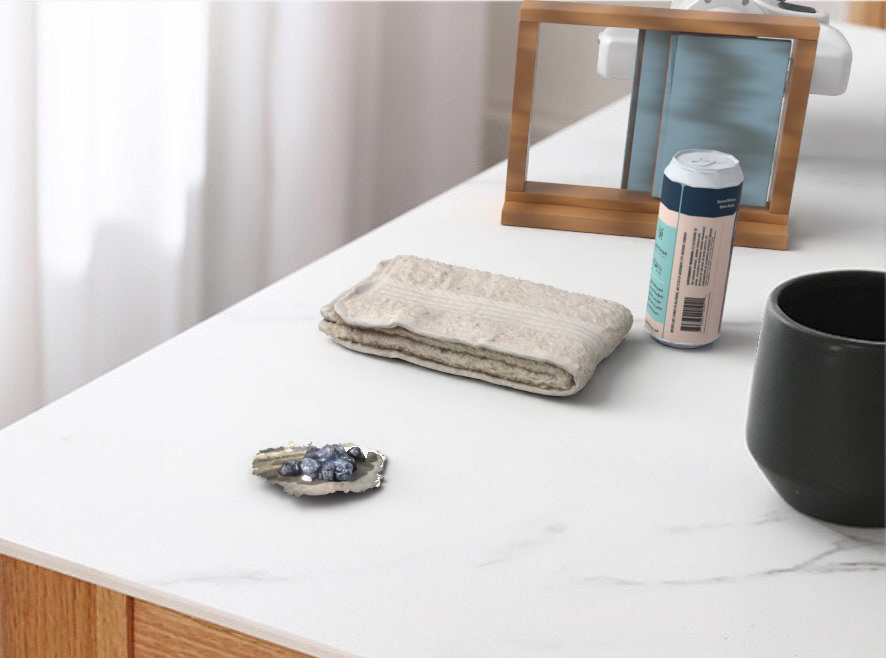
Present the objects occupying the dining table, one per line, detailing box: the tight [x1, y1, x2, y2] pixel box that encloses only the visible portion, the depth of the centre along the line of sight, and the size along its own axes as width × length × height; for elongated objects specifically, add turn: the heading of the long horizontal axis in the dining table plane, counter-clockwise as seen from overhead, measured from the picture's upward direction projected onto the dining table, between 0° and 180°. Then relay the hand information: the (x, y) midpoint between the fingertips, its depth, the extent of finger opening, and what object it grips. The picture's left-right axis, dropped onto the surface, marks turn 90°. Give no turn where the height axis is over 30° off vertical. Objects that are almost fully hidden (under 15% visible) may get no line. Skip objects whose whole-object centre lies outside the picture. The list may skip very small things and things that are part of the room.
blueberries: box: [251, 441, 385, 498], centre depth 85 cm, size 7×8×2 cm
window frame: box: [500, 0, 820, 251], centre depth 117 cm, size 21×7×16 cm, turn 77°
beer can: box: [643, 149, 744, 349], centre depth 99 cm, size 5×5×12 cm
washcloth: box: [317, 254, 634, 397], centre depth 100 cm, size 12×18×3 cm, turn 62°
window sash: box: [619, 29, 758, 192], centre depth 119 cm, size 8×5×12 cm, turn 77°
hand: (723, 83), depth 124 cm, fingers open, 8 cm apart
